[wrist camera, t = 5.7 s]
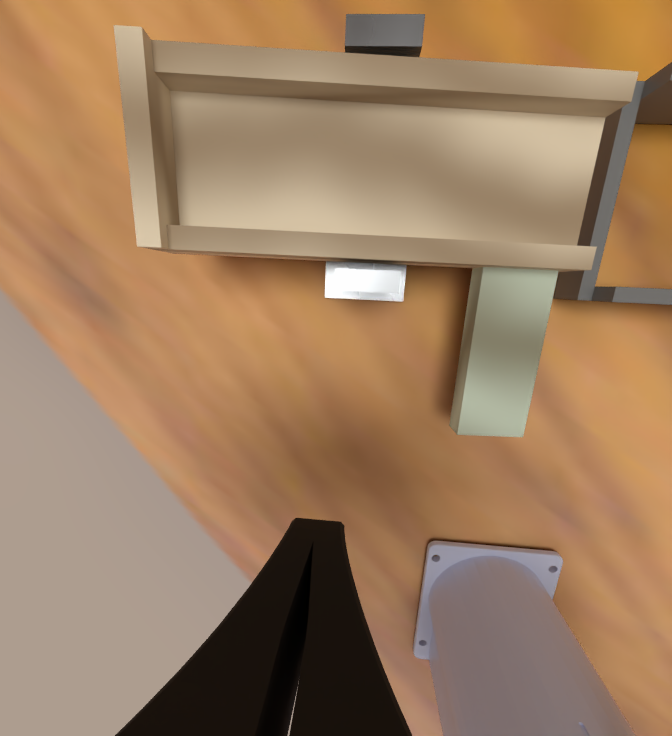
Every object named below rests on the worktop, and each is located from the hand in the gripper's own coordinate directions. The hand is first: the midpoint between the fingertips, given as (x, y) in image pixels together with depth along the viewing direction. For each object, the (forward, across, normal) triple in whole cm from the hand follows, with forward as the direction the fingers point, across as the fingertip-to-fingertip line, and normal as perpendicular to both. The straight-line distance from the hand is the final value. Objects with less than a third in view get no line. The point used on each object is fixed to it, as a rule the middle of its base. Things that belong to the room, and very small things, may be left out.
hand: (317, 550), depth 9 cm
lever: (+7, -1, -7) cm, 10 cm away
